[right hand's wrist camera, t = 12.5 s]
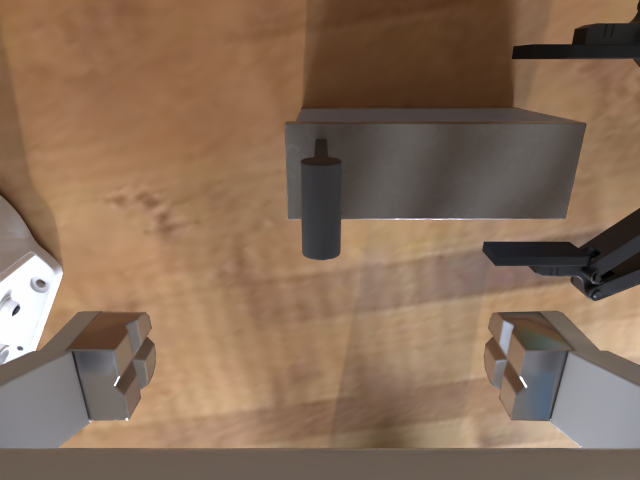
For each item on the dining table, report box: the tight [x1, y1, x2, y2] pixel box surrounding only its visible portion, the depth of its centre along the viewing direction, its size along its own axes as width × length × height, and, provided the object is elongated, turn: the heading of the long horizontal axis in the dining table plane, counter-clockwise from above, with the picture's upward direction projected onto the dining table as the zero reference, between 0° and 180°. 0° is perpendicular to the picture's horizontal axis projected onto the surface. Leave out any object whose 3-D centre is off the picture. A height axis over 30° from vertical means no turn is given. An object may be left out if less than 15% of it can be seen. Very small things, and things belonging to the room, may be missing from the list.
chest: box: [296, 107, 574, 122], centre depth 31 cm, size 17×6×9 cm, turn 90°
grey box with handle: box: [285, 121, 586, 260], centre depth 23 cm, size 17×6×9 cm, turn 90°
